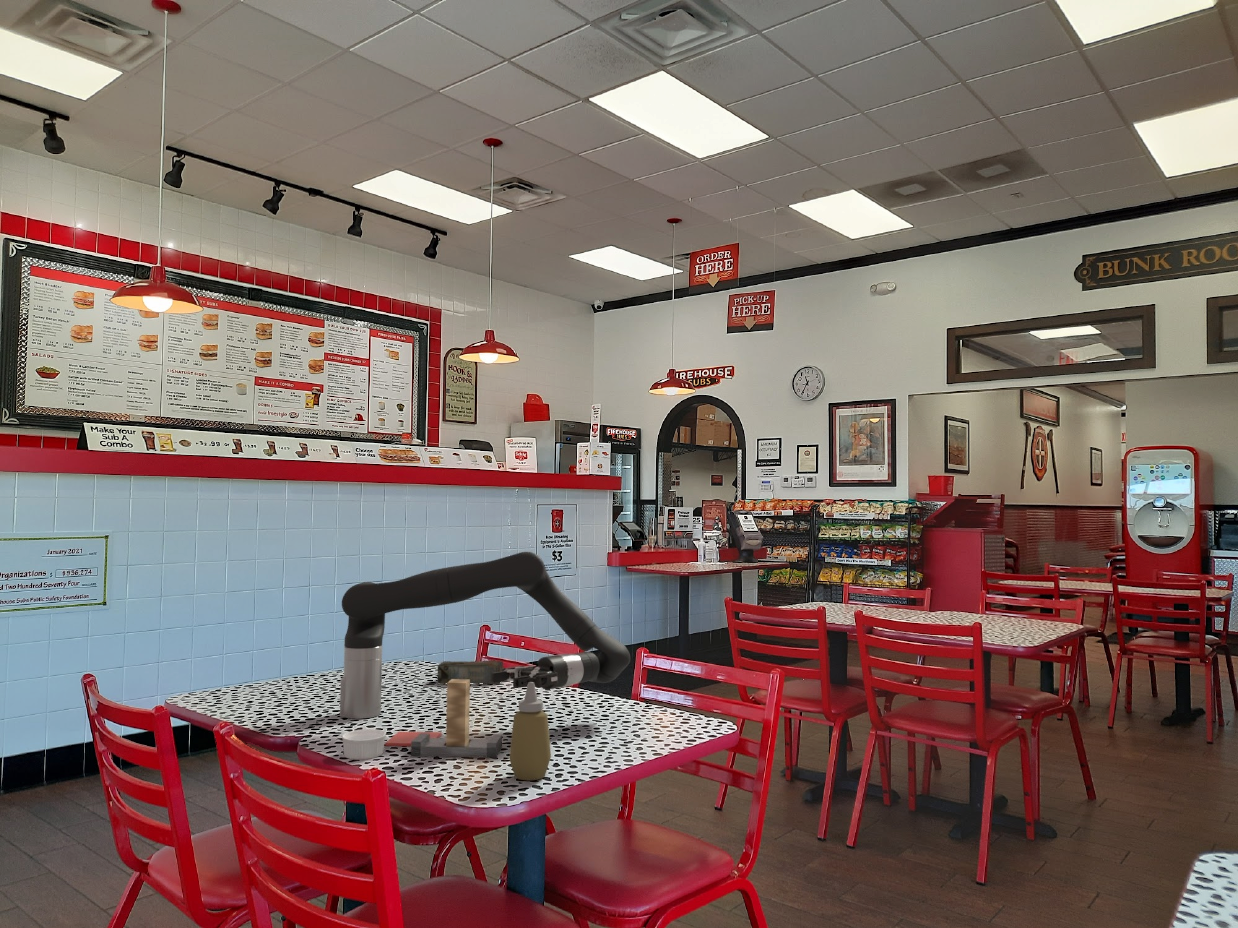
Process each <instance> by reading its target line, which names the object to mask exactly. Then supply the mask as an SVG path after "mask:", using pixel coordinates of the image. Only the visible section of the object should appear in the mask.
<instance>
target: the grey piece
mask: <svg viewBox="0 0 1238 928" xmlns="http://www.w3.org/2000/svg"><path fill="white" fill-rule="evenodd" d="M501 749H503V734H501V733H498V734H497V733H493V734H492V735H491V737H490V738H469V744H468V745H467V746H446V737H439V738H430V733H420V734H419V735H418V736H417V737H416V738H415V739H414V740H413V741H411V746H410V756H411V757H436V756H442V758H444V757H446V758H447V757H450V758H453V757H454V758H497V757H498V756H499V754H500V753H501V751H502V750H501Z"/></svg>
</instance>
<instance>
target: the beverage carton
mask: <svg viewBox="0 0 1238 928" xmlns="http://www.w3.org/2000/svg"><path fill="white" fill-rule="evenodd" d="M503 668H504V661H503V660H496V659H491V660H478V661H477V660H475V661H472V660H471V661H465V660H464V661H463V660H462V661H459V660H458V661H441V662H440V663H439V664H438V665H437V677H436V678H437V684H438V683H448V682H449V681H450V680H451V679H470V683H478V684H477V685H480V684H479V683H483V684H482V685H490V684H495V685H500V684H501V683H500V682H498V683H493V682H492V681H491V674H492V673H495V672H501V671H502V669H503Z"/></svg>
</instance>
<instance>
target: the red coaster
mask: <svg viewBox="0 0 1238 928" xmlns="http://www.w3.org/2000/svg"><path fill="white" fill-rule="evenodd" d="M442 732H443V731H398V732H396V733H395V734H394V735H393V736H392V737H391V738H389V739H388V740H387V741H385V742H384V747H411V741H413V740H414V739H415V738H416V737H417V736H418V735H419V734H420V733H430V738H440V737H441V736H442ZM439 736H440V737H439Z"/></svg>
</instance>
